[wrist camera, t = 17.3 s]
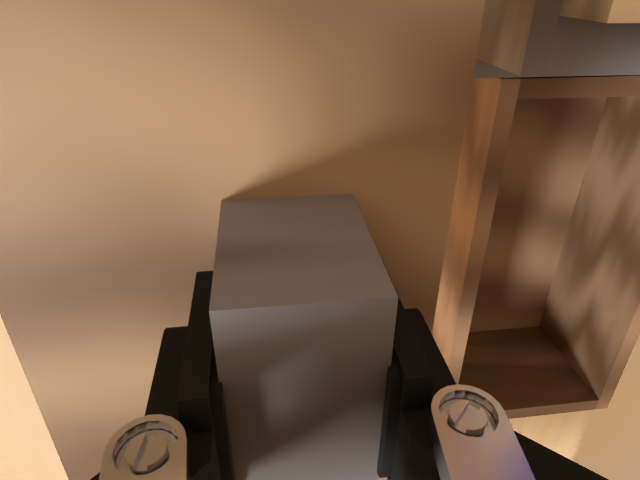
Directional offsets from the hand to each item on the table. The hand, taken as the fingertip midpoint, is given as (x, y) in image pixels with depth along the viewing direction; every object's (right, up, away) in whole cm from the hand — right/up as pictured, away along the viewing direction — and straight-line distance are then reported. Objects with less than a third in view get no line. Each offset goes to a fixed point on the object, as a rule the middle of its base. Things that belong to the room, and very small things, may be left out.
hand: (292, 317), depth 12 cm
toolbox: (+11, +6, +18) cm, 22 cm away
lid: (-2, +1, +2) cm, 3 cm away
